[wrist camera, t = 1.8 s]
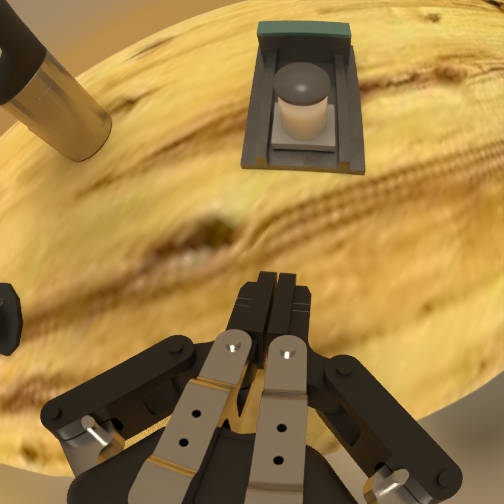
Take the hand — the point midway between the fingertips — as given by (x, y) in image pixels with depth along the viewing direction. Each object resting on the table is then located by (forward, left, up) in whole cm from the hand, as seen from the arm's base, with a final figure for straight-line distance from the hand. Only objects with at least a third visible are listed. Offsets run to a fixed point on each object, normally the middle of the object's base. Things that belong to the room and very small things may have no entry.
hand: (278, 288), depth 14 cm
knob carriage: (0, +20, -17) cm, 26 cm away
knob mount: (0, +26, -18) cm, 31 cm away
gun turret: (-43, -8, -18) cm, 47 cm away
